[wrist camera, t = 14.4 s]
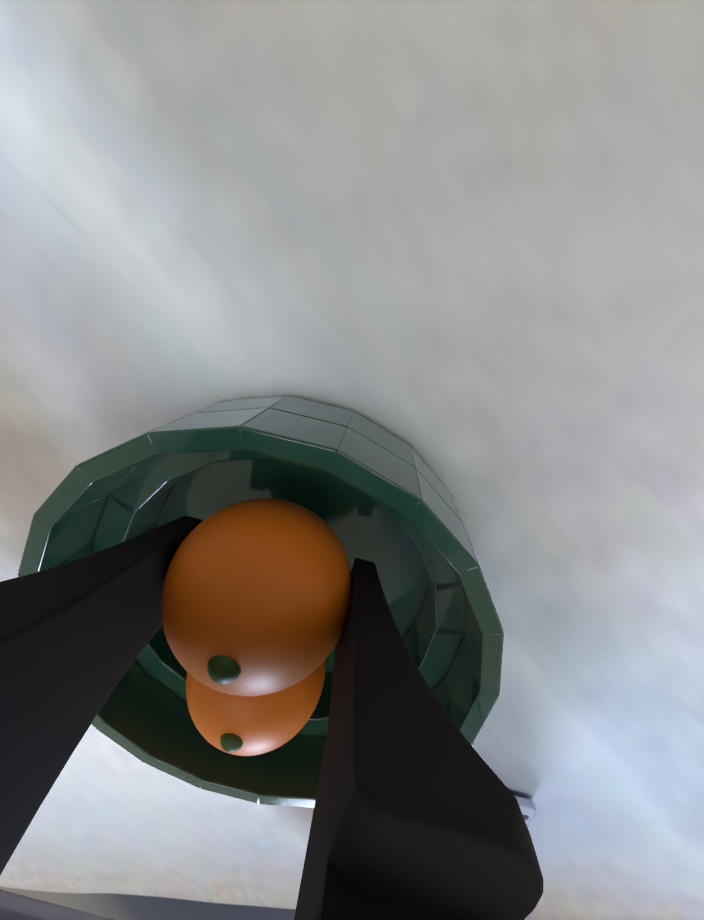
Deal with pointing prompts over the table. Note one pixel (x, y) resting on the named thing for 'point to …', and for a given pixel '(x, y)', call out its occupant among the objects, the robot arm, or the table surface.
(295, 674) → the clementine
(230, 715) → the clementine
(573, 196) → the table surface
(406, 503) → the bowl
